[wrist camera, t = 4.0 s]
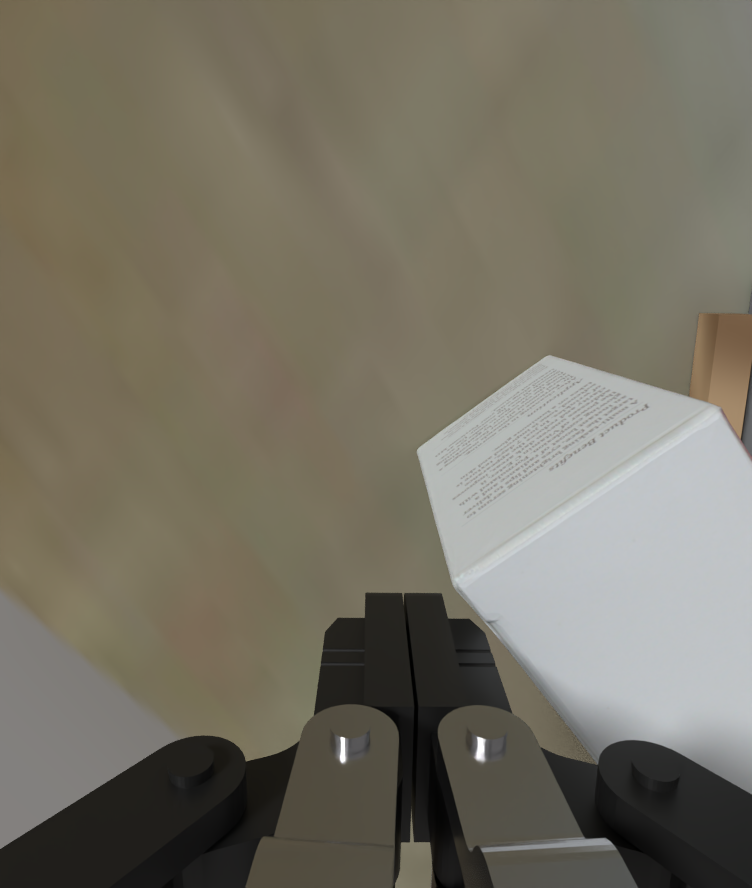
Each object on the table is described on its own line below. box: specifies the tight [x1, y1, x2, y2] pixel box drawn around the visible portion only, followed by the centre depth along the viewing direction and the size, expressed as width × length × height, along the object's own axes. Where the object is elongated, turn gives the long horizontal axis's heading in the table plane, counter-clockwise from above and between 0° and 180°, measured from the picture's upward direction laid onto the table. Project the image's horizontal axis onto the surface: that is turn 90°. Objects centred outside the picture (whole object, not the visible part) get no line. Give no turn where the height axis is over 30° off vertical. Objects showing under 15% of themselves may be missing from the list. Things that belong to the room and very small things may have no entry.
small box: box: [417, 355, 752, 794], centre depth 16 cm, size 8×6×10 cm
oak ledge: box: [689, 313, 752, 439], centre depth 21 cm, size 12×1×1 cm, turn 0°
